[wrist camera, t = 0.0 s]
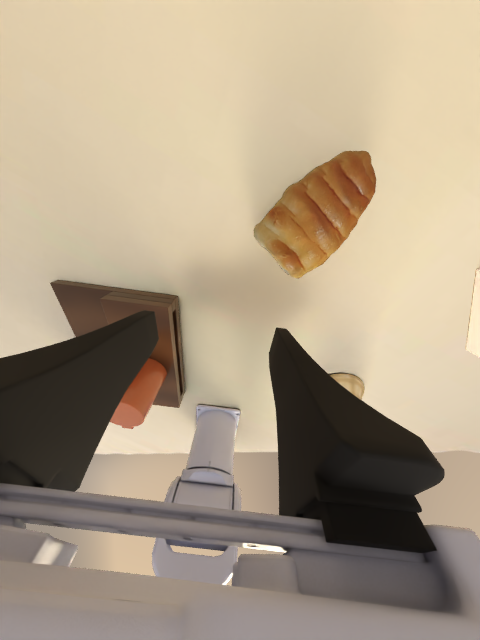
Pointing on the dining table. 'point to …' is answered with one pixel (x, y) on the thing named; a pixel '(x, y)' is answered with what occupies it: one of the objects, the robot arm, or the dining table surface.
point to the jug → (140, 395)
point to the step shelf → (115, 304)
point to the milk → (475, 320)
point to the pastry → (318, 213)
